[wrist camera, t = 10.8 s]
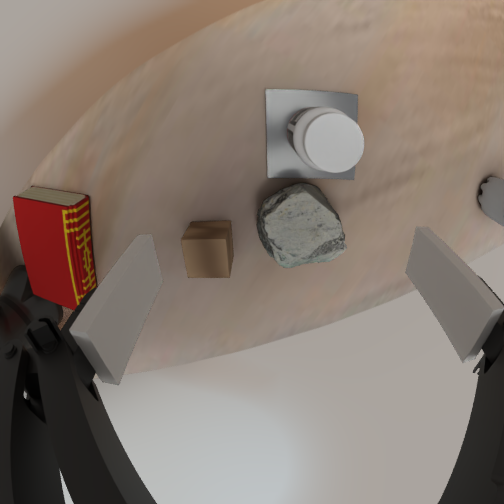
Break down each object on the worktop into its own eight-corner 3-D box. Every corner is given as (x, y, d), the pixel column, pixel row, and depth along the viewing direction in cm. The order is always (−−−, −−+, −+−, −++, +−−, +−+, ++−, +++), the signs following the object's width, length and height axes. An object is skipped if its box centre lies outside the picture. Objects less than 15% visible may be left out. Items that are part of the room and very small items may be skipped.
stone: (312, 172, 33) (285, 164, 24) (362, 237, 31) (355, 253, 23) (259, 219, 37) (218, 228, 28) (304, 279, 36) (276, 308, 27)
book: (100, 296, 42) (88, 315, 37) (47, 278, 41) (33, 294, 36) (92, 194, 33) (72, 208, 28) (33, 185, 32) (12, 196, 27)
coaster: (267, 176, 31) (267, 177, 30) (265, 89, 26) (265, 89, 25) (352, 178, 30) (354, 179, 29) (355, 94, 25) (357, 94, 25)
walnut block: (196, 256, 36) (187, 277, 32) (191, 221, 34) (180, 239, 30) (233, 255, 36) (229, 277, 32) (230, 220, 34) (225, 238, 29)
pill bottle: (332, 162, 29) (360, 188, 20) (282, 152, 28) (290, 172, 20) (342, 114, 26) (377, 118, 17) (291, 102, 26) (305, 98, 17)
